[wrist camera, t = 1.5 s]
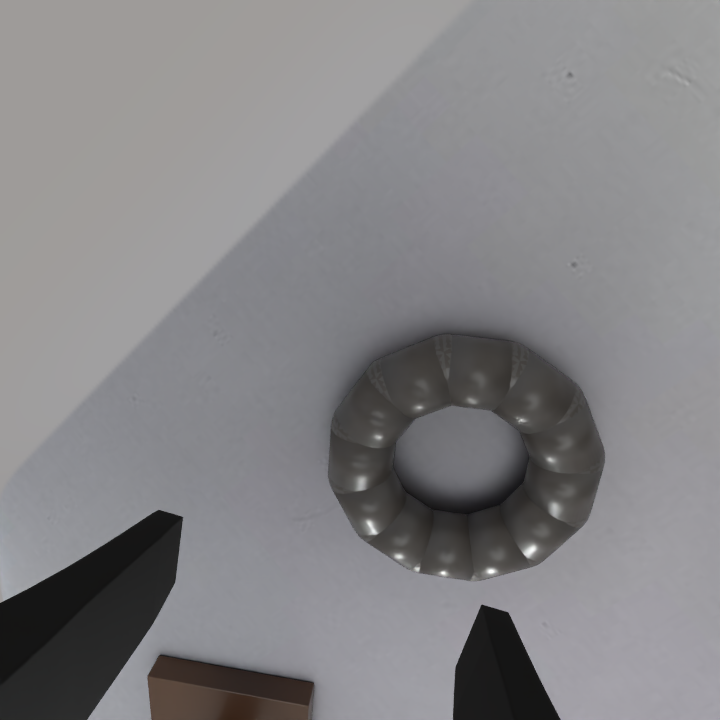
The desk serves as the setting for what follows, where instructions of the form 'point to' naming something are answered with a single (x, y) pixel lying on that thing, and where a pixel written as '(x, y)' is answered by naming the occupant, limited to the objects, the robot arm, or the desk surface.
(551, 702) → the robot arm
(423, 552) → the donut
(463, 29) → the desk surface
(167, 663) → the post
